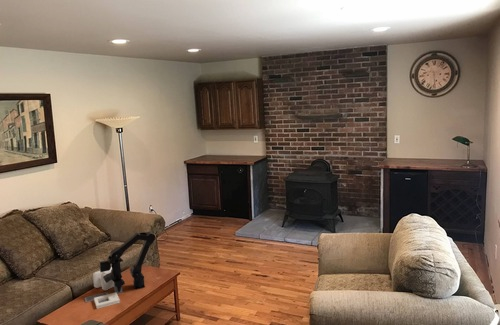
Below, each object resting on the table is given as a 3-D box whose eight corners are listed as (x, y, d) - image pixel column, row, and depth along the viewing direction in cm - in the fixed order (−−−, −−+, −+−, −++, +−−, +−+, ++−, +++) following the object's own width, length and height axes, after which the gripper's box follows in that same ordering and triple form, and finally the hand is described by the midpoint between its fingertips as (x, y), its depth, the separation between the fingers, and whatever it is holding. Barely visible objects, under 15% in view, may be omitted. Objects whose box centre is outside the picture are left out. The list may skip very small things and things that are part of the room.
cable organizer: (102, 292, 269) (100, 276, 267) (93, 288, 275) (91, 272, 273) (121, 284, 281) (120, 268, 279) (112, 280, 287) (110, 265, 285)
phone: (84, 298, 262) (84, 297, 262) (106, 293, 269) (106, 291, 268) (85, 303, 256) (85, 301, 256) (108, 297, 262) (108, 296, 262)
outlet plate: (116, 295, 264) (116, 292, 264) (120, 302, 254) (119, 299, 254) (94, 300, 258) (93, 297, 258) (96, 308, 247) (96, 305, 247)
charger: (121, 289, 272) (120, 281, 271) (122, 292, 268) (121, 284, 267) (114, 291, 270) (113, 283, 269) (115, 294, 266) (114, 285, 265)
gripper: (101, 266, 271) (103, 288, 273) (105, 276, 254) (108, 299, 257) (118, 262, 276) (120, 284, 278) (123, 272, 259) (125, 295, 262)
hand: (118, 290), depth 269 cm, fingers closed on charger, 4 cm apart
